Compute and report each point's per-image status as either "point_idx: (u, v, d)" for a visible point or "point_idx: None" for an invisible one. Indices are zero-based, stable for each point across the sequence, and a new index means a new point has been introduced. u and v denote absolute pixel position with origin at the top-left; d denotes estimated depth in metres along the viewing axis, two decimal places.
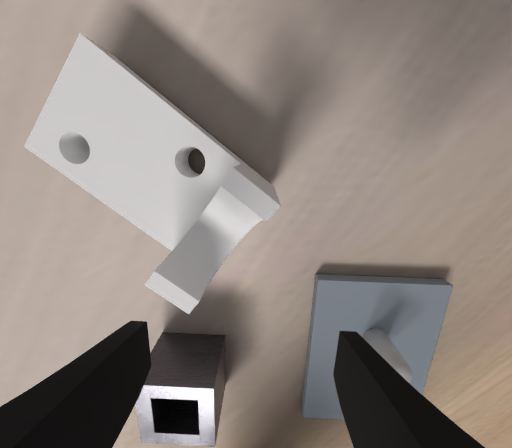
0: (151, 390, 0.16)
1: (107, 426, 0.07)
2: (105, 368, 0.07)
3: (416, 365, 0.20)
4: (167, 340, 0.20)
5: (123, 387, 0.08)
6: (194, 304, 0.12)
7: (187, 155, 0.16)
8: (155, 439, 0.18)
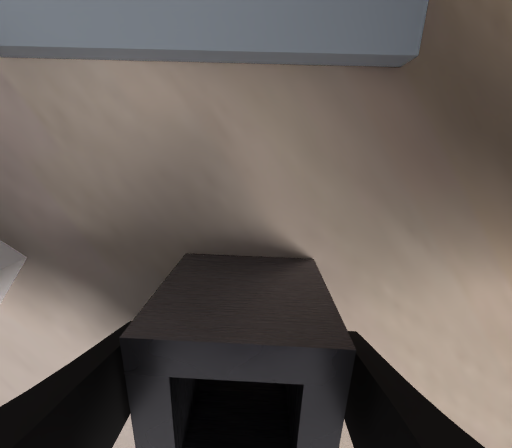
0: None
1: (107, 426, 0.07)
2: (105, 368, 0.07)
3: None
4: None
5: (123, 387, 0.08)
6: None
7: None
8: None
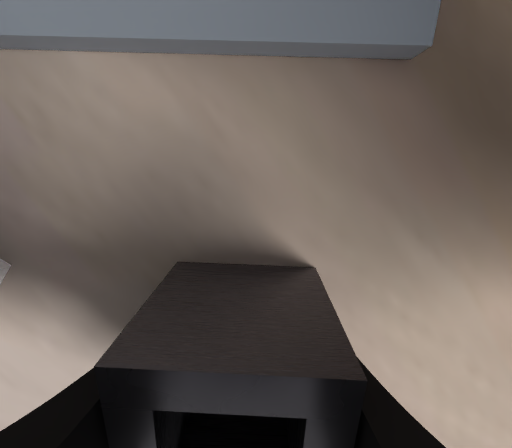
0: None
1: None
2: None
3: None
4: None
5: None
6: None
7: None
8: None
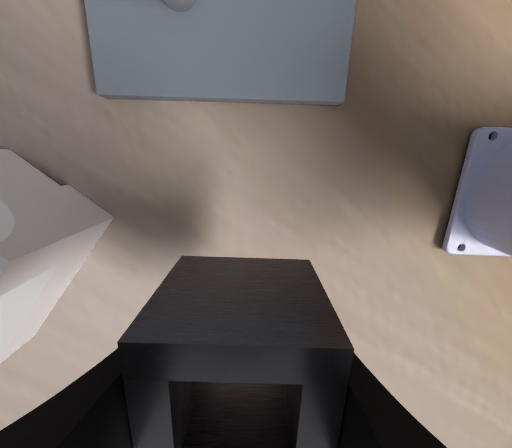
0: None
1: None
2: None
3: None
4: None
5: None
6: None
7: None
8: None
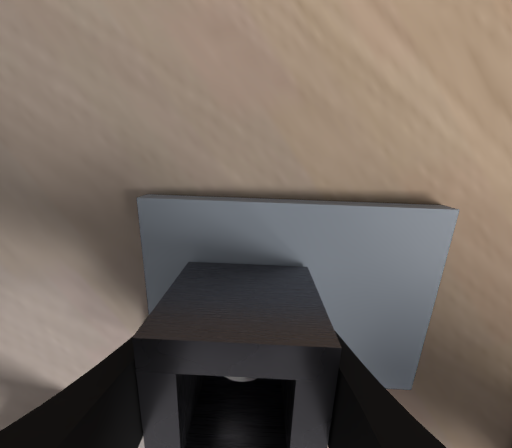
0: None
1: (133, 427, 0.07)
2: (132, 369, 0.07)
3: (305, 227, 0.11)
4: None
5: None
6: None
7: None
8: None
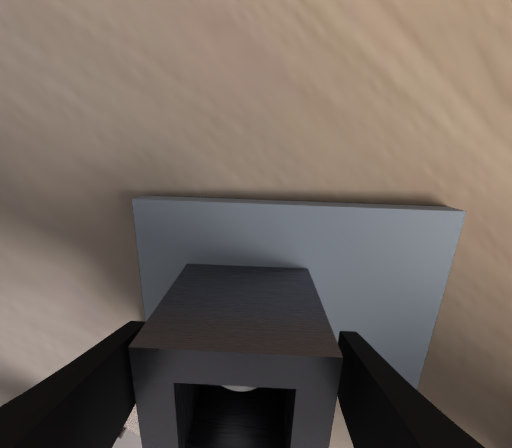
0: None
1: (107, 426, 0.07)
2: (105, 368, 0.07)
3: (306, 230, 0.10)
4: None
5: (123, 387, 0.08)
6: None
7: None
8: None
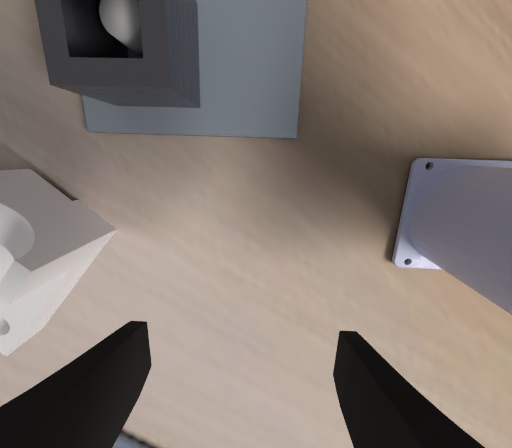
0: (53, 53, 0.11)
1: (107, 426, 0.07)
2: (105, 368, 0.07)
3: None
4: None
5: (123, 387, 0.08)
6: (18, 264, 0.12)
7: None
8: (160, 59, 0.10)
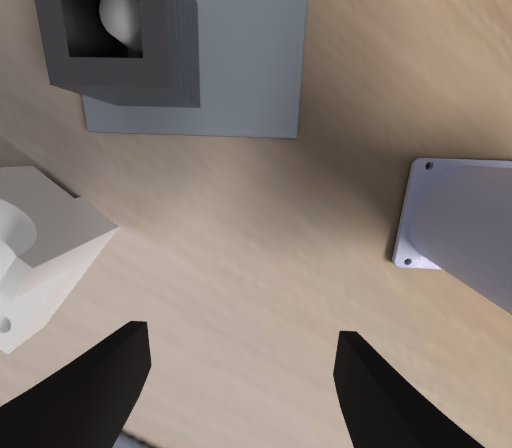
0: (53, 53, 0.11)
1: (107, 426, 0.07)
2: (105, 368, 0.07)
3: None
4: None
5: (123, 387, 0.08)
6: (20, 261, 0.12)
7: None
8: (160, 58, 0.10)
